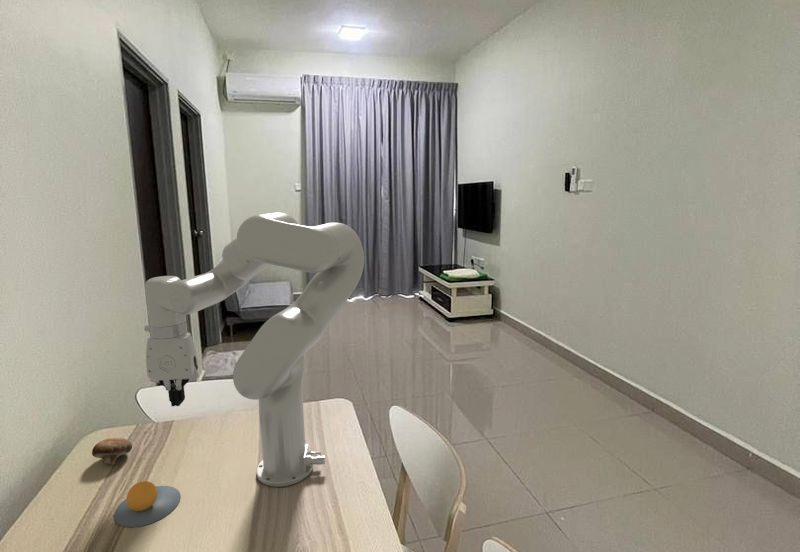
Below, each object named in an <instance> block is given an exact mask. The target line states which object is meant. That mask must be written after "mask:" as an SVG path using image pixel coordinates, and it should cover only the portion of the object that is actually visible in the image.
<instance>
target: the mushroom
mask: <svg viewBox="0 0 800 552" xmlns="http://www.w3.org/2000/svg"><path fill="white" fill-rule="evenodd" d="M132 449H133V444H132V442H131V441H130V440H128V439H126V438H123V437H115V438H114V437H111V438H106V439H103V440H100V441H99V442H98V443H96V444H95V445H93V448H92V451H91V455H92V457H94V458H97V459H98V458H99V459H101V460H102V462H103V463H105V464H108V465H112V466H116V462H117V459H118V458H119V457H120V456H123V455H126V454H128V453H130V452H131V450H132Z"/></svg>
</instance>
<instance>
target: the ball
mask: <svg viewBox="0 0 800 552" xmlns="http://www.w3.org/2000/svg"><path fill="white" fill-rule="evenodd" d="M125 497H126V498H125V499H126V502H127V505H128V507H129V508H130V509H132V510H134V511H143V510H146V509H148V508H149V507H151V506H152V505H153V503H154V502H155V500H156V498H157V488H156V485H155V484H154V483H153V482H151V481H148V480H144V481H143V480H142V481H139V482H137V483H135V484H134V485H132V486H131V487H130V489H128V491H127V494H126V496H125Z"/></svg>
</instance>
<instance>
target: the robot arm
mask: <svg viewBox="0 0 800 552" xmlns="http://www.w3.org/2000/svg"><path fill="white" fill-rule="evenodd" d="M362 244H363V243H362V241H361V240H360V237H359V236H358V234H357V232H356V231H355V230H354V229H353V228H352V227H350V226H349V225H347V224H346V223H341V222H327V223H324V224H318V225H314V226H307V225H301V224H299V223H298V221H297V220H296V219H295V218H294V217H292V216H291V214H290V215H289V214H287V213H286V212H285V213H284V212H276V211H275V212H269V213H260V214H255V215H252V216H250V217H248V218H246V219H245V220H244V221H243V222H242V223H241V224H240V225H239V228H238V230H237V233H236V238H235V239H234V240H232V241H231V242H229V243H228V244H226V245H225V246H224V247H223V249H222V253H221V257H222V262H220V263H219V264H217V265H216V266H215V267H213V268H212V269H211V270H209V271H207V272H205V273H202V274H198V275H195V276H191V277H188V278H185V279H181V278H180V277H178V276H175V275H162V276H155V277H151V278H149V279H148V280H146V282H145V285H144V288H145V289H144V291H145V298H146V304H147V311H148V312H147V314H148V320H149V322H148V323H149V324H148V325H145V326H144V331H145V332H148V333H149V335H150V336H148V337H147V340H146V351H145V354H146V355H145V358H146V359H145V362H146V365H145V366H146V367H145V368H146V374H147V378H148V379H150V382H152V383H157V384H160V385H162V386H163V387H164V388H165V390H166V391H167V393H168V400H169V402H170V404H171V405H170V406H171V407H180V406H181V404H183V402H184V401H185V400H186V399H185V398H186V395H185V386H186V384H188V383H191V382H194V381H197V380H198V379H199V378H200V375H199V372H198V368H199V362H198V356H197V350H196V346H195V343H194V339H193V337H192V334H191V332H188V324H187V315H191V314H195V313H197V312H199V311H200V312H201V310H204V309H207V308H209V307H212V306H214V305H216V304H218V303H221V302H222V301H224V300H225V299H227V298H228V297H230V296H231V295H233V294H234V293H236V292H237V291H239V290H240V289H241V288H243V287H244V286H245V285H247V284H248V282H249V281H251V280H252V278H254V277H255V276H256V275H258V274H259V273H261V272H262V271H263V270H265V269H266V268H268V267H269V266H271V265H272V266H277V267H281V268H285V269H289V270H294V271H299V272H304V273H311V274H314V273H316V274H315V275H313V277H312V278H311V280H309V282H308V283H307V285H306V286H305V287H304V289H303V290H302V292H301V293H300V294H299V296H298V297H297V299H296V300H295V301H294V302H293V303H292V304H291V305H289V306H287V307H286V308H284V309H283V310H281V311H279V312H277V313H276V314H274V315H273V316H271V317H270V318H269V319H268V320H267V321H265V322H264V323H263V324H262V325H261V326H260V328H259V329H258V331H257V332H256V333H255V335H254V336H253V338H252V339H251V341H250V342H249V343H248V345H247V346H246V348H245V349H244V351H243V352H242V353H241V354H240V356H239V358H238V359H237V361H236V363H235V365H234V367H233V370H232V380H233V385H234V388H235V390H236V391H237V392H238V394H239V395H241V396H242V397H243V398H246V399H248V400H252V401H253V400H255V401H257V400H258V412H259V413H258V414H259V426H260V439H261V440H260V441H261V453H262V460H261V461H260V462H259V463H258V465H257V466H256V477H257V479H258V480H259V482H261V484H262V483H263V484H264V485H266V486H268V487H269V486H270V487H274V488H275V487H276V488H277V487H279V488H282V487H287V486H292V485H294V484H297V483H300V482H301V481H303V480H305V479H306V478H307V477H308V476H309V475H310V474H311V473H312V472H313V468H314V465H316V466H318V465H319V466H320V465H326V455H323V454H322V451H321V450H313V451H312V450H311V449H309V443H306V436H305V433H306V432H305V416H304V397H303V392H304V391H303V381H304V371H305V354H306V353H307V352H308V351H309V350H310V349H312V348H313V347H314V346H315V345H316V344H317V343H318V342H319V341H320V339H321V338H322V336H323V335H324V333H326V330H327V329H328V327H330V325H331V324H332V322H333V321H334V319H335V318H336V316H338V315H339V313H340V311H341V309H342V308H343V307H344V305H346V303H347V301H348V300H349V299H350V297H351V296H352V294H353V293H354V291H355V290H356V288H357V286H358V285H359V282H360V279H361V277H362V274H363V271H364V264H365V254H364V253H365V252H364V248H363V245H362Z"/></svg>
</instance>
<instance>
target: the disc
mask: <svg viewBox="0 0 800 552" xmlns="http://www.w3.org/2000/svg"><path fill="white" fill-rule="evenodd" d="M155 486H156V485H155ZM156 488H157V498H156V500H155V502H154V503H153V505H152V506H151V507H149V508H148V509H146V510H143V511H134V510H132V509H130V508H129V507H128V505H127V502H126V498H125V499H124V500H123V501H121V502H120V503H119V505H118V506H117V507H116V508H115V511H114V513H113V518H114V521H115V522H116V524H117V525H119V526H121V527H125V528H138V527H144V526H147V525H150V524H153V523H156V522H158V521H160V520H162V519H164V518H165V517H167V516H168V515H169V514H171V513H172V512H173V511H174V510H175V509H176V508H177V507H178V505H179V503H180V502H181V498H182V497H181V492H180V490H179V489H177V488H175V487H174V486H170V485H157V486H156Z"/></svg>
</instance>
